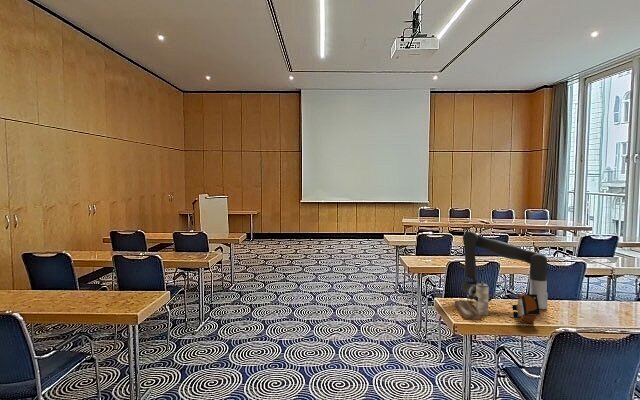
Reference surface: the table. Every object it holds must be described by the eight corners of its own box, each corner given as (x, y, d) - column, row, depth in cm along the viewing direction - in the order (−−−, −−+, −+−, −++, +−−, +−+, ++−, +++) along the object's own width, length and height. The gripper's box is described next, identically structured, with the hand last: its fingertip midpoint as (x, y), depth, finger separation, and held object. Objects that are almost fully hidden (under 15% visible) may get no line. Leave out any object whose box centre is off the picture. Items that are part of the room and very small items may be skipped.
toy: (510, 297, 247) (525, 289, 229) (520, 297, 247) (535, 289, 229) (515, 325, 241) (530, 319, 223) (525, 326, 240) (541, 320, 222)
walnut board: (468, 305, 266) (468, 301, 266) (480, 319, 237) (480, 314, 237) (454, 304, 267) (455, 300, 267) (465, 318, 238) (465, 314, 238)
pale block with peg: (485, 312, 252) (486, 281, 251) (487, 315, 246) (488, 283, 245) (475, 311, 252) (476, 280, 252) (477, 314, 246) (478, 282, 246)
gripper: (464, 286, 264) (470, 292, 247) (488, 287, 262) (496, 294, 245) (464, 298, 264) (470, 305, 247) (488, 299, 262) (496, 307, 245)
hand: (483, 299), depth 246 cm, fingers closed on pale block with peg, 5 cm apart
